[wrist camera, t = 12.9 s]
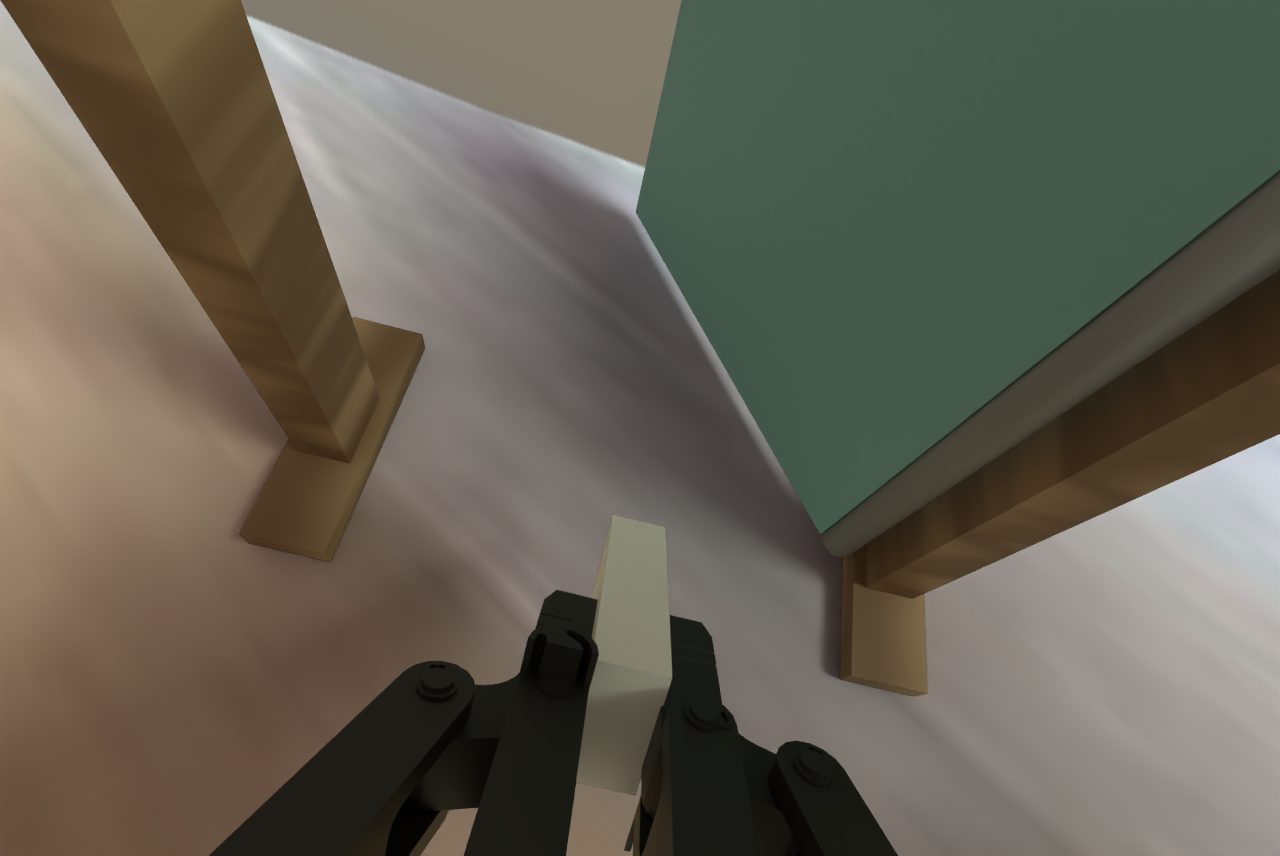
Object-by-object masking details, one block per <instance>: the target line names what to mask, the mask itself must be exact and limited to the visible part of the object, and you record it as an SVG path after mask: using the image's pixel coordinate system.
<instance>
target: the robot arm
mask: <svg viewBox="0 0 1280 856" xmlns="http://www.w3.org/2000/svg"><path fill="white" fill-rule="evenodd" d="M715 665H716V661H715V654H714V648H713V641H712V637H711V635H710V634H709V632H708V631H707V630H706V628H705V627H704V625H703V624H702V623H701V622H697V621H693V620H688V619H684V618H680V617H676V616H671V615H669V594H668V572H667V550H666V528H665V527H663V526H659V525H654V524H650V523H646V522H642V521H638V520H634V519H630V518H626V517H622V516H617V515H613V518H612V521H611V525H610V529H609V533H608V537H607V540H606V544H605V548H604V552H603V556H602V559H601V563H600V567H599V571H598V575H597V578H596V582H595V586H594V590H593V594H592V597H591V598H589V597H584V596H580V595H576V594H572V593H568V592H563V591H559V590H556V591H555V592H553V593H552V594H551V595H549V596H548V597H547V598H546V599H544V603H543V606H542V609H541V612H540V616H539V619H538V622H537V626H536V629H535V630H533V632H532V633H531V635H530V636H529V637H528V641H527V645H526V649H525V653H524V658H523V662H522V666H521V670H520V673H519V674H518V675H517V676H516V677H514V678H512V679H510V680H508V681H506V682H503V683H499V684H493V685H475V684H474V680H473V678H472V677H471V676H470V674H469V673H468V672H467V671H466V670H464V669H463V668H461V667H459V666H458V665H455V664H452V663H448V662H444V661H427V662H423V663H420V664H416V665H413V666H412V667H410V668H409V669H407V670H406V671H404V672H403V673H402V674H401V675H400V676H399V677H398V678H396V679H395V680H394V681H393V682H392V683H391V684H390V685H389V686H388V687H387V688H386V689H385V690H384V691H383V692H382V693H381V694H380V695H378V696H377V697H376V698H375V699H374V700H373V701H372V702H371V703H370V704H369V705H368V706H367V707H366V708H365V709H364V710H363V711H362V712H360V713H359V714H358V715H357V716H356V717H355V718H354V719H353V720H352V721H351V722H350V723H349V724H348V725H347V726H346V727H345V728H344V729H342V730H341V731H340V732H339V733H338V734H337V735H336V736H335V737H334V738H333V739H332V740H331V741H330V742H329V743H328V744H327V745H326V746H324V747H323V748H322V749H321V750H320V751H319V752H318V753H317V754H316V755H315V756H314V757H313V758H312V759H311V760H310V761H309V762H308V763H306V764H305V765H304V766H303V767H302V768H301V769H300V770H299V771H298V772H297V773H296V774H295V775H294V776H293V777H292V778H291V779H290V780H288V781H287V782H286V783H285V784H284V785H283V786H282V787H281V788H280V789H279V790H278V791H277V792H276V793H275V794H274V795H273V796H272V797H270V798H269V799H268V800H267V801H266V802H265V803H264V804H263V805H262V806H261V807H260V808H259V809H258V810H257V811H256V812H255V813H254V814H252V815H251V816H250V817H249V818H248V819H247V820H246V821H245V822H244V823H243V824H242V825H241V826H240V827H239V828H238V829H237V830H236V831H234V832H233V833H232V834H231V835H230V836H229V837H228V838H227V839H226V840H225V841H224V842H223V843H222V844H221V845H220V846H219V847H218V848H216V849H215V850H214V851H213V852H212V853H211V854H210V855H209V856H420V855H421V853H422V852H423V850H424V849H425V848H426V846H427V845H428V843H429V842H430V840H431V839H432V837H433V836H434V834H435V833H436V831H437V830H438V829H439V827H440V826H441V824H442V823H443V821H444V820H445V818H446V815H447V813H448V811H449V810H453V809H465V808H477V807H479V808H478V811H477V814H476V817H475V821H474V824H473V827H472V830H471V834H470V837H469V840H468V843H467V847H466V850H465V853H464V856H566V850H567V843H568V836H569V829H570V822H571V815H572V807H573V800H574V793H575V786H576V782H577V783H582V784H586V785H591V786H595V787H599V788H604V789H608V790H613V791H617V792H622V793H626V794H631V795H636V792H637V789H638V786H639V782H640V779H641V776H642V789H641V798H640V801H639V804H638V807H637V810H636V813H635V817H634V820H633V823H632V826H631V829H630V832H629V836H628V839H627V842H626V846H625V849H624V851H629V852H630V850H631V847H632V844H633V856H898V855H897V853H896V852H895V850H894V849H893V847H892V845H891V844H890V842H889V841H888V839H887V837H886V836H885V834H884V833H883V831H882V829H881V828H880V826H879V824H878V823H877V821H876V820H875V818H874V816H873V815H872V813H871V812H870V810H869V808H868V807H867V805H866V804H865V802H864V800H863V799H862V797H861V796H860V794H859V792H858V791H857V789H856V788H855V786H854V784H853V783H852V781H851V780H850V778H849V776H848V775H847V773H846V771H845V770H844V769H843V768H842V766H841V765H840V764H839V763H838V762H837V760H836V759H835V758H833V757H832V756H831V755H829V754H828V753H827V752H826V751H824V750H823V749H821V748H818V747H816V746H814V745H812V744H810V743H805V742H800V741H792V742H786V743H784V744H783V745H782V746H781V747H779V749H778V751H777V754H774V753H772V752H770V751H768V750H766V749H764V748H762V747H760V746H757V745H755V744H754V743H752V742H750V741H749V740H747V739H745V738H744V737H743V736H741V735H740V734H739V733H738V729H737V724H736V722H735V720H734V717H733V715H732V714H731V713H730V712H729V711H728V709H727V708H726V707H725V706H724V705H722V700H721V694H720V687H719V681H718V674H717V668H716V666H715Z"/></svg>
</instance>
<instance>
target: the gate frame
mask: <svg viewBox="0 0 1280 856" xmlns="http://www.w3.org/2000/svg"><path fill="white" fill-rule="evenodd" d="M1 2H2V3H3V5H4V6H5V8H6V9H7V11H8V12H9V14H10V15H11V17H12V18H13V20H14V21H15V23H16V24H17V26H18V27H19V29H20V30H21V32H22V33H23V35H24V37H25V38H26V40H27V41H28V43H29V44H30V46H31V47H32V49H33V50H34V52H35V53H36V55H37V56H38V58H39V59H40V61H41V62H42V64H43V65H44V67H45V68H46V70H47V71H48V73H49V75H50V76H51V78H52V79H53V81H54V82H55V84H56V85H57V87H58V88H59V90H60V91H61V93H62V94H63V96H64V97H65V99H66V100H67V102H68V103H69V105H70V106H71V108H72V109H73V111H74V113H75V114H76V116H77V117H78V119H79V120H80V122H81V123H82V125H83V126H84V128H85V129H86V131H87V132H88V134H89V135H90V137H91V138H92V140H93V141H94V143H95V144H96V146H97V147H98V149H99V151H100V152H101V154H102V155H103V157H104V158H105V160H106V161H107V163H108V164H109V166H110V167H111V169H112V170H113V172H114V173H115V175H116V176H117V178H118V179H119V181H120V182H121V184H122V185H123V187H124V189H125V190H126V192H127V193H128V195H129V196H130V198H131V199H132V201H133V202H134V204H135V205H136V207H137V208H138V210H139V211H140V213H141V214H142V216H143V217H144V219H145V220H146V222H147V223H148V225H149V226H150V228H151V230H152V231H153V233H154V234H155V236H156V237H157V239H158V240H159V242H160V243H161V245H162V246H163V248H164V249H165V251H166V252H167V254H168V255H169V257H170V258H171V260H172V261H173V263H174V264H175V266H176V268H177V269H178V271H179V272H180V274H181V275H182V277H183V278H184V280H185V281H186V283H187V284H188V286H189V287H190V289H191V290H192V292H193V293H194V295H195V296H196V298H197V299H198V301H199V302H200V304H201V306H202V307H203V309H204V310H205V312H206V313H207V315H208V316H209V318H210V319H211V321H212V322H213V324H214V325H215V327H216V328H217V330H218V331H219V333H220V334H221V336H222V337H223V339H224V340H225V342H226V344H227V345H228V347H229V348H230V350H231V351H232V353H233V354H234V356H235V357H236V359H237V360H238V362H239V363H240V365H241V366H242V368H243V369H244V371H245V372H246V374H247V375H248V377H249V378H250V380H251V382H252V383H253V385H254V386H255V388H256V389H257V391H258V392H259V394H260V395H261V397H262V398H263V400H264V401H265V403H266V404H267V406H268V407H269V409H270V410H271V412H272V413H273V415H274V416H275V418H276V420H277V421H278V423H279V424H280V426H281V427H282V429H283V430H284V432H285V433H286V435H287V436H288V438H289V440H288V442H287V444H286V446H285V447H284V449H283V451H282V453H281V455H280V457H279V459H278V461H277V463H276V464H275V466H274V468H273V470H272V472H271V474H270V476H269V478H268V480H267V482H266V483H265V485H264V487H263V489H262V491H261V493H260V495H259V497H258V499H257V501H256V502H255V504H254V506H253V508H252V510H251V512H250V514H249V516H248V518H247V520H246V521H245V523H244V525H243V527H242V529H241V531H240V533H239V535H240V536H242V537H243V538H244V539H245V540H246V541H247V542H248V543H251V544H255V545H259V546H264V547H268V548H272V549H277V550H281V551H285V552H290V553H294V554H298V555H303V556H307V557H311V558H316V559H320V560H324V561H329V562H331V561H332V558H333V556H334V554H335V551H336V549H337V547H338V545H339V542H340V540H341V538H342V536H343V533H344V531H345V529H346V526H347V524H348V522H349V520H350V517H351V515H352V513H353V511H354V508H355V506H356V504H357V501H358V499H359V497H360V495H361V492H362V490H363V488H364V486H365V483H366V481H367V479H368V476H369V474H370V472H371V470H372V467H373V465H374V463H375V461H376V458H377V456H378V454H379V452H380V449H381V447H382V445H383V442H384V440H385V438H386V436H387V433H388V431H389V429H390V427H391V424H392V422H393V420H394V417H395V415H396V413H397V411H398V408H399V406H400V404H401V402H402V399H403V397H404V395H405V392H406V390H407V388H408V386H409V383H410V381H411V379H412V377H413V374H414V372H415V370H416V368H417V365H418V363H419V361H420V358H421V356H422V354H423V352H424V349H425V344H424V340H423V335H422V334H419V333H415V332H411V331H407V330H403V329H399V328H395V327H391V326H387V325H383V324H379V323H375V322H371V321H368V320H364V319H360V318H356V317H353V318H352V317H351V314H350V312H349V309H348V306H347V303H346V300H345V297H344V294H343V292H342V289H341V286H340V283H339V280H338V277H337V274H336V272H335V269H334V266H333V263H332V260H331V257H330V254H329V252H328V249H327V246H326V243H325V240H324V237H323V234H322V231H321V229H320V226H319V223H318V220H317V217H316V214H315V211H314V209H313V206H312V203H311V200H310V197H309V194H308V191H307V189H306V186H305V183H304V180H303V177H302V174H301V171H300V169H299V166H298V163H297V160H296V157H295V154H294V151H293V149H292V146H291V143H290V140H289V137H288V134H287V131H286V129H285V126H284V123H283V120H282V117H281V114H280V111H279V108H278V106H277V103H276V100H275V97H274V94H273V91H272V88H271V86H270V83H269V80H268V77H267V74H266V71H265V68H264V66H263V63H262V60H261V57H260V54H259V51H258V48H257V46H256V43H255V40H254V37H253V34H252V31H251V28H250V26H249V23H248V20H247V17H246V14H245V11H244V9H243V6H242V3H241V0H1ZM1278 434H1280V270H1278V271H1277V272H1275V273H1274V274H1272V275H1271V276H1269V277H1268V278H1266V279H1265V280H1263V281H1262V282H1260V283H1259V284H1257V285H1256V286H1254V287H1253V288H1251V289H1250V290H1248V291H1247V292H1245V293H1244V294H1242V295H1241V296H1239V297H1238V298H1236V299H1235V300H1233V301H1232V302H1230V303H1229V304H1227V305H1226V306H1224V307H1223V308H1221V309H1220V310H1218V311H1217V312H1215V313H1214V314H1212V315H1211V316H1209V317H1208V318H1206V319H1205V320H1203V321H1202V322H1200V323H1199V324H1197V325H1196V326H1194V327H1193V328H1191V329H1190V330H1188V331H1187V332H1185V333H1184V334H1182V335H1181V336H1179V337H1178V338H1176V339H1174V340H1173V341H1171V342H1170V343H1168V344H1167V345H1165V346H1164V347H1162V348H1161V349H1159V350H1158V351H1156V352H1155V353H1153V354H1152V355H1150V356H1149V357H1147V358H1146V359H1144V360H1143V361H1141V362H1140V363H1138V364H1137V365H1135V366H1134V367H1132V368H1131V369H1129V370H1128V371H1126V372H1125V373H1123V374H1122V375H1120V376H1119V377H1117V378H1116V379H1114V380H1113V381H1111V382H1110V383H1108V384H1107V385H1105V386H1104V387H1102V388H1101V389H1099V390H1098V391H1096V392H1095V393H1093V394H1092V395H1090V396H1089V397H1087V398H1086V399H1084V400H1083V401H1081V402H1080V403H1078V404H1077V405H1075V406H1074V407H1072V408H1071V409H1069V410H1067V411H1066V412H1064V413H1063V414H1061V415H1060V416H1058V417H1057V418H1055V419H1054V420H1052V421H1051V422H1049V423H1048V424H1046V425H1045V426H1043V427H1042V428H1040V429H1039V430H1037V431H1036V432H1034V433H1033V434H1031V435H1030V436H1028V437H1027V438H1025V439H1024V440H1022V441H1021V442H1019V443H1018V444H1016V445H1015V446H1013V447H1012V448H1010V449H1009V450H1007V451H1006V452H1004V453H1003V454H1001V455H1000V456H998V457H997V458H995V459H994V460H992V461H991V462H989V463H988V464H986V465H985V466H983V467H982V468H980V469H979V470H977V471H976V472H974V473H973V474H971V475H970V476H968V477H967V478H965V479H964V480H962V481H961V482H959V483H957V484H956V485H954V486H953V487H951V488H950V489H948V490H947V491H945V492H944V493H942V494H941V495H939V496H938V497H936V498H935V499H933V500H932V501H930V502H929V503H927V504H926V505H924V506H923V507H921V508H920V509H918V510H917V511H915V512H914V513H912V514H911V515H909V516H908V517H906V518H905V519H903V520H902V521H900V522H899V523H897V524H896V525H894V526H893V527H891V528H890V529H888V530H887V531H885V532H884V533H882V534H881V535H879V536H878V537H876V538H875V539H873V540H872V541H870V542H869V543H867V544H866V545H864V546H863V547H861V548H860V549H858V550H857V551H855V552H854V553H852V554H850V555H849V556H847V557H843V585H842V621H841V658H840V680H845V681H849V682H853V683H858V684H862V685H866V686H871V687H875V688H879V689H884V690H888V691H892V692H897V693H901V694H905V695H910V696H918V695H922V694H927V693H928V691H927V664H926V637H925V609H924V594H925V593H927V592H929V591H931V590H934V589H936V588H938V587H940V586H942V585H945V584H947V583H949V582H951V581H954V580H956V579H958V578H960V577H962V576H965V575H967V574H969V573H971V572H974V571H976V570H978V569H980V568H982V567H985V566H987V565H989V564H991V563H994V562H996V561H998V560H1000V559H1002V558H1005V557H1007V556H1009V555H1011V554H1014V553H1016V552H1018V551H1020V550H1023V549H1025V548H1027V547H1029V546H1031V545H1034V544H1036V543H1038V542H1040V541H1043V540H1045V539H1047V538H1049V537H1051V536H1054V535H1056V534H1058V533H1060V532H1063V531H1065V530H1067V529H1069V528H1071V527H1074V526H1076V525H1078V524H1080V523H1083V522H1085V521H1087V520H1089V519H1091V518H1094V517H1096V516H1098V515H1100V514H1103V513H1105V512H1107V511H1109V510H1112V509H1114V508H1116V507H1118V506H1120V505H1123V504H1125V503H1127V502H1129V501H1132V500H1134V499H1136V498H1138V497H1140V496H1143V495H1145V494H1147V493H1149V492H1152V491H1154V490H1156V489H1158V488H1160V487H1163V486H1165V485H1167V484H1169V483H1172V482H1174V481H1176V480H1178V479H1180V478H1183V477H1185V476H1187V475H1189V474H1192V473H1194V472H1196V471H1198V470H1201V469H1203V468H1205V467H1207V466H1209V465H1212V464H1214V463H1216V462H1218V461H1221V460H1223V459H1225V458H1227V457H1229V456H1232V455H1234V454H1236V453H1238V452H1241V451H1243V450H1245V449H1247V448H1249V447H1252V446H1254V445H1256V444H1258V443H1261V442H1263V441H1265V440H1267V439H1269V438H1272V437H1274V436H1276V435H1278Z"/></svg>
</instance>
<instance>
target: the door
mask: <svg viewBox="0 0 1280 856" xmlns="http://www.w3.org/2000/svg"><path fill="white" fill-rule="evenodd" d="M636 214H637V215H638V217H639V219H640V221H641V222H642V224H643V226H644V227H645V229H646V231H647V233H648V234H649V236H650V238H651V240H652V241H653V243H654V245H655V247H656V248H657V250H658V252H659V254H660V255H661V257H662V259H663V261H664V262H665V264H666V266H667V268H668V269H669V271H670V273H671V275H672V276H673V278H674V280H675V282H676V283H677V285H678V287H679V289H680V290H681V292H682V294H683V296H684V297H685V299H686V301H687V303H688V304H689V306H690V308H691V310H692V311H693V313H694V315H695V317H696V318H697V320H698V322H699V324H700V325H701V327H702V329H703V331H704V332H705V334H706V336H707V338H708V339H709V341H710V343H711V345H712V346H713V348H714V350H715V351H716V353H717V355H718V357H719V358H720V360H721V362H722V364H723V365H724V367H725V369H726V371H727V372H728V374H729V376H730V378H731V379H732V381H733V383H734V385H735V386H736V388H737V390H738V392H739V393H740V395H741V397H742V399H743V400H744V402H745V404H746V406H747V407H748V409H749V411H750V413H751V414H752V416H753V418H754V420H755V421H756V423H757V425H758V427H759V428H760V430H761V432H762V434H763V435H764V437H765V439H766V441H767V442H768V444H769V446H770V448H771V449H772V451H773V453H774V455H775V456H776V458H777V460H778V462H779V463H780V465H781V467H782V469H783V470H784V472H785V474H786V476H787V477H788V479H789V481H790V482H791V484H792V486H793V488H794V489H795V491H796V493H797V495H798V496H799V498H800V500H801V502H802V503H803V505H804V507H805V509H806V510H807V512H808V514H809V516H810V517H811V519H812V521H813V523H814V524H815V526H816V528H817V530H818V531H819V533H820V534H822V541H823V544H824V546H825V548H826V549H827V550H828V551H829V552H830V553H831V554H832V555H834V556H837V557H847V556H849V555H850V554H852V553H854V552H855V551H857V550H858V549H860V548H861V547H863V546H864V545H866V544H867V543H869V542H870V541H872V540H873V539H875V538H876V537H878V536H879V535H881V534H882V533H884V532H885V531H887V530H888V529H890V528H891V527H893V526H894V525H896V524H897V523H899V522H900V521H902V520H903V519H905V518H906V517H908V516H909V515H911V514H912V513H914V512H915V511H917V510H918V509H920V508H921V507H923V506H924V505H926V504H927V503H929V502H930V501H932V500H933V499H935V498H936V497H938V496H939V495H941V494H942V493H944V492H945V491H947V490H948V489H950V488H951V487H953V486H954V485H956V484H957V483H959V482H961V481H962V480H964V479H965V478H967V477H968V476H970V475H971V474H973V473H974V472H976V471H977V470H979V469H980V468H982V467H983V466H985V465H986V464H988V463H989V462H991V461H992V460H994V459H995V458H997V457H998V456H1000V455H1001V454H1003V453H1004V452H1006V451H1007V450H1009V449H1010V448H1012V447H1013V446H1015V445H1016V444H1018V443H1019V442H1021V441H1022V440H1024V439H1025V438H1027V437H1028V436H1030V435H1031V434H1033V433H1034V432H1036V431H1037V430H1039V429H1040V428H1042V427H1043V426H1045V425H1046V424H1048V423H1049V422H1051V421H1052V420H1054V419H1055V418H1057V417H1058V416H1060V415H1061V414H1063V413H1064V412H1066V411H1067V410H1069V409H1071V408H1072V407H1074V406H1075V405H1077V404H1078V403H1080V402H1081V401H1083V400H1084V399H1086V398H1087V397H1089V396H1090V395H1092V394H1093V393H1095V392H1096V391H1098V390H1099V389H1101V388H1102V387H1104V386H1105V385H1107V384H1108V383H1110V382H1111V381H1113V380H1114V379H1116V378H1117V377H1119V376H1120V375H1122V374H1123V373H1125V372H1126V371H1128V370H1129V369H1131V368H1132V367H1134V366H1135V365H1137V364H1138V363H1140V362H1141V361H1143V360H1144V359H1146V358H1147V357H1149V356H1150V355H1152V354H1153V353H1155V352H1156V351H1158V350H1159V349H1161V348H1162V347H1164V346H1165V345H1167V344H1168V343H1170V342H1171V341H1173V340H1174V339H1176V338H1178V337H1179V336H1181V335H1182V334H1184V333H1185V332H1187V331H1188V330H1190V329H1191V328H1193V327H1194V326H1196V325H1197V324H1199V323H1200V322H1202V321H1203V320H1205V319H1206V318H1208V317H1209V316H1211V315H1212V314H1214V313H1215V312H1217V311H1218V310H1220V309H1221V308H1223V307H1224V306H1226V305H1227V304H1229V303H1230V302H1232V301H1233V300H1235V299H1236V298H1238V297H1239V296H1241V295H1242V294H1244V293H1245V292H1247V291H1248V290H1250V289H1251V288H1253V287H1254V286H1256V285H1257V284H1259V283H1260V282H1262V281H1263V280H1265V279H1266V278H1268V277H1269V276H1271V275H1272V274H1274V273H1275V272H1277V271H1278V270H1280V0H682V1H681V6H680V10H679V16H678V20H677V24H676V29H675V34H674V38H673V43H672V47H671V53H670V57H669V61H668V66H667V70H666V75H665V80H664V85H663V89H662V94H661V98H660V103H659V107H658V112H657V116H656V121H655V126H654V130H653V135H652V139H651V144H650V149H649V153H648V158H647V163H646V167H645V172H644V176H643V181H642V186H641V190H640V195H639V199H638V204H637V209H636Z"/></svg>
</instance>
